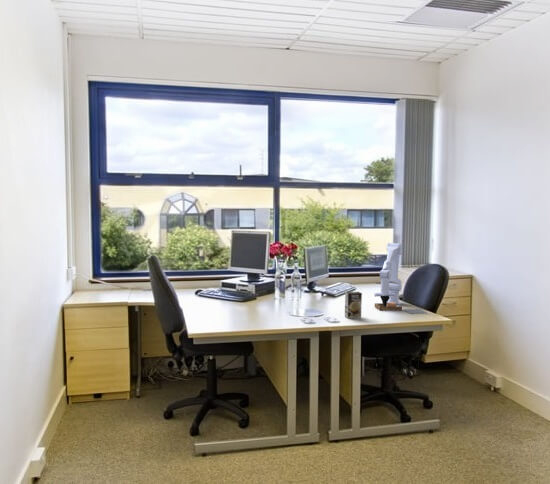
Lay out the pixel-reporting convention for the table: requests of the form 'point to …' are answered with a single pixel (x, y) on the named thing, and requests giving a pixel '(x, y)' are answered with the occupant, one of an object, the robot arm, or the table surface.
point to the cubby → (380, 307)
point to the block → (391, 304)
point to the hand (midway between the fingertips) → (384, 306)
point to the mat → (414, 311)
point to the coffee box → (353, 304)
